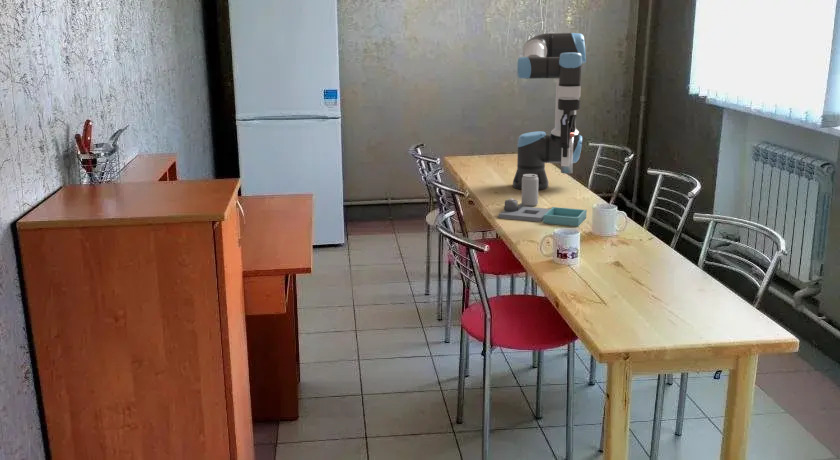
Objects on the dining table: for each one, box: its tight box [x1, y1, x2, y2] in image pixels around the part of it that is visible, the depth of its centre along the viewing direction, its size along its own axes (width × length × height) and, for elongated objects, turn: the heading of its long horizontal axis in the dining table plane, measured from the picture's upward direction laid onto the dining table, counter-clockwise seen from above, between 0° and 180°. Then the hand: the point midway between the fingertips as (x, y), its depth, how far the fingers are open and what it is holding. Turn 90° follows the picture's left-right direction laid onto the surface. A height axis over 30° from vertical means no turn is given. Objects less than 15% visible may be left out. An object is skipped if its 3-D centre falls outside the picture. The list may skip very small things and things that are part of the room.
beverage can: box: [520, 174, 539, 207], centre depth 306 cm, size 6×6×12 cm
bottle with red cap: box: [560, 132, 575, 174], centre depth 278 cm, size 5×5×14 cm
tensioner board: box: [498, 198, 551, 223], centre depth 292 cm, size 14×16×6 cm
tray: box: [542, 206, 588, 227], centre depth 284 cm, size 13×13×3 cm
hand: (566, 164), depth 279 cm, fingers closed on bottle with red cap, 4 cm apart
